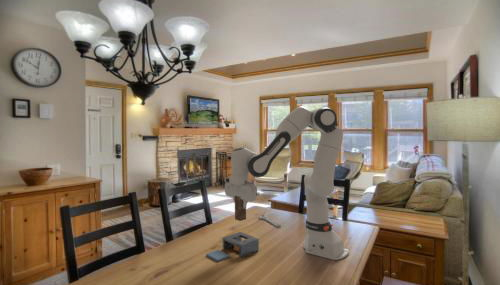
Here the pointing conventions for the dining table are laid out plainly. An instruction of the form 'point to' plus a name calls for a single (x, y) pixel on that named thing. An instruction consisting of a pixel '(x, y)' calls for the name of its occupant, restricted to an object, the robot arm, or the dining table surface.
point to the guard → (241, 243)
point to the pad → (217, 255)
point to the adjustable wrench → (264, 217)
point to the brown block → (239, 209)
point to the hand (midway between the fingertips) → (240, 207)
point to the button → (236, 248)
